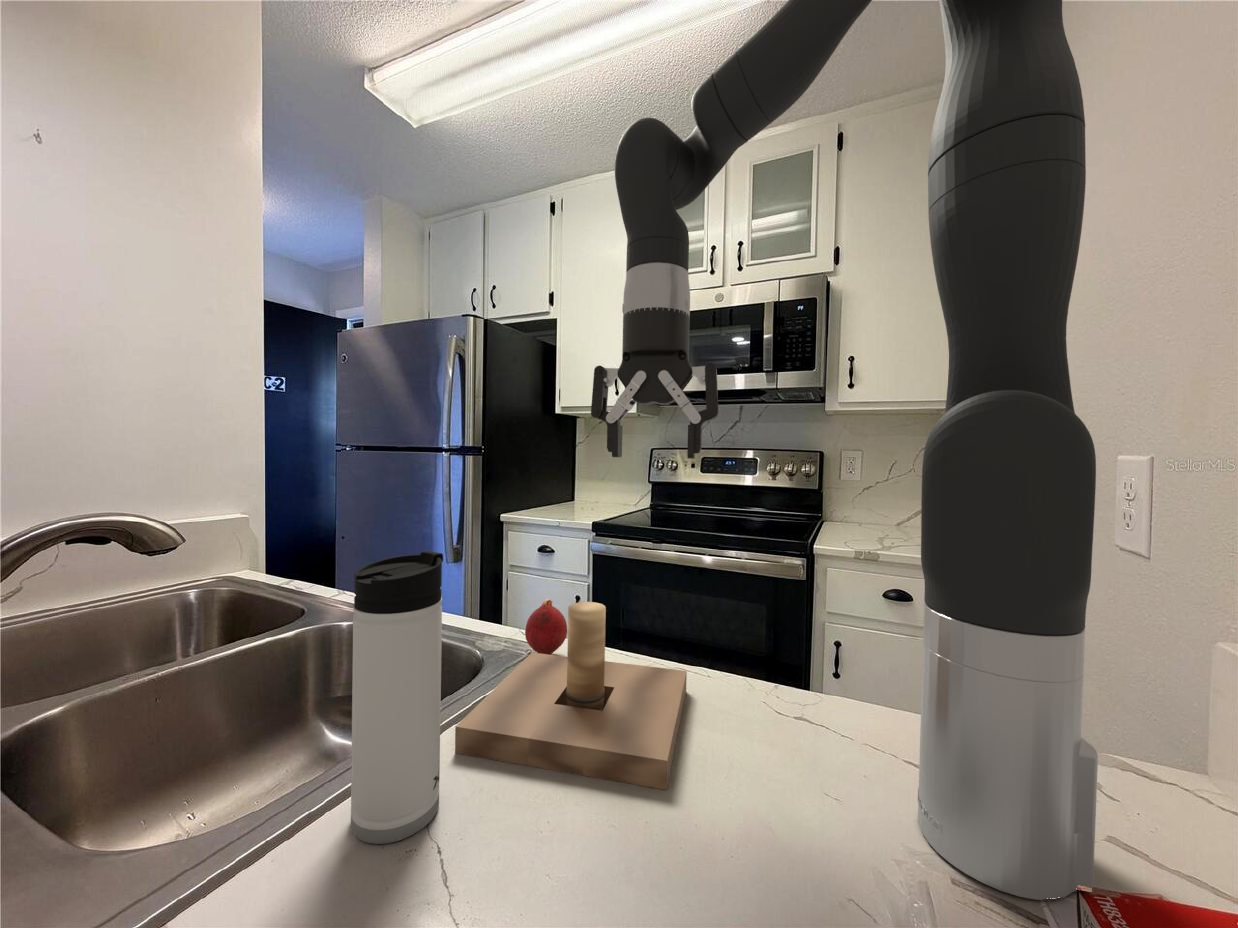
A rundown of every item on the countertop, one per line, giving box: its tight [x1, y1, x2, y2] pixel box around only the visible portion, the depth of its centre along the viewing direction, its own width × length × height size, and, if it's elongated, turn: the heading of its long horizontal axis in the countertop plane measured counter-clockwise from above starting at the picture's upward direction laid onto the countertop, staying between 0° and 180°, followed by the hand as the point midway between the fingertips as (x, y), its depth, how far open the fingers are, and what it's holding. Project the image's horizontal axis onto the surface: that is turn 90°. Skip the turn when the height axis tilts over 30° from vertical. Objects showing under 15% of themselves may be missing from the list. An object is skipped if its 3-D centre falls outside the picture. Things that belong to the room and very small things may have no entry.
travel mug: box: [350, 550, 444, 845], centre depth 38 cm, size 6×7×20 cm
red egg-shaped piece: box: [524, 598, 568, 655], centre depth 68 cm, size 6×6×8 cm
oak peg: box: [566, 601, 607, 711], centre depth 52 cm, size 4×4×12 cm
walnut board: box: [454, 652, 688, 791], centre depth 53 cm, size 20×18×2 cm
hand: (653, 457), depth 56 cm, fingers open, 8 cm apart
